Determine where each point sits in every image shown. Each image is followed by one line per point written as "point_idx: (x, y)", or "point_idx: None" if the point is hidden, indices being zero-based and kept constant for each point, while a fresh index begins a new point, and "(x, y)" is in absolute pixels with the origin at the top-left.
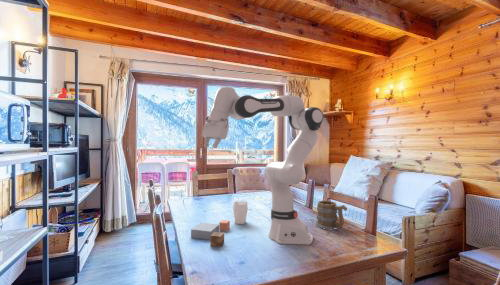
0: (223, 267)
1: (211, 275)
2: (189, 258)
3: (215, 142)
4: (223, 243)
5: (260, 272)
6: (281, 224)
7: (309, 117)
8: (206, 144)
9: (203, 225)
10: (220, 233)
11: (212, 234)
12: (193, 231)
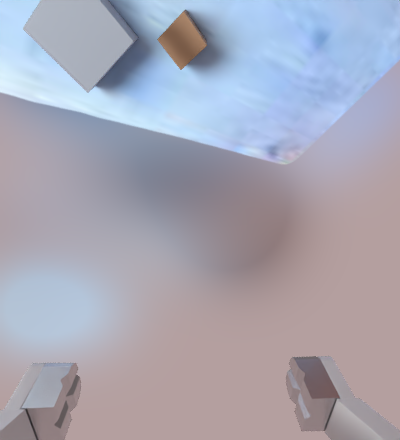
0: (302, 94)
1: (306, 129)
2: (217, 137)
3: None
4: (189, 15)
5: (390, 27)
6: None
7: None
8: (67, 413)
9: (59, 34)
10: (182, 29)
11: (176, 60)
12: (94, 85)
